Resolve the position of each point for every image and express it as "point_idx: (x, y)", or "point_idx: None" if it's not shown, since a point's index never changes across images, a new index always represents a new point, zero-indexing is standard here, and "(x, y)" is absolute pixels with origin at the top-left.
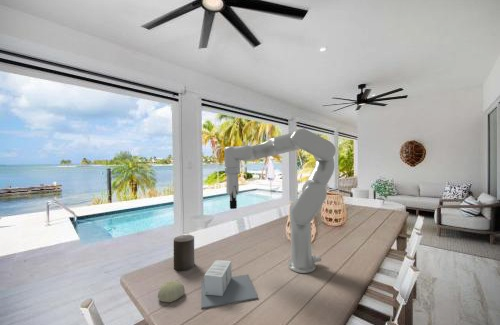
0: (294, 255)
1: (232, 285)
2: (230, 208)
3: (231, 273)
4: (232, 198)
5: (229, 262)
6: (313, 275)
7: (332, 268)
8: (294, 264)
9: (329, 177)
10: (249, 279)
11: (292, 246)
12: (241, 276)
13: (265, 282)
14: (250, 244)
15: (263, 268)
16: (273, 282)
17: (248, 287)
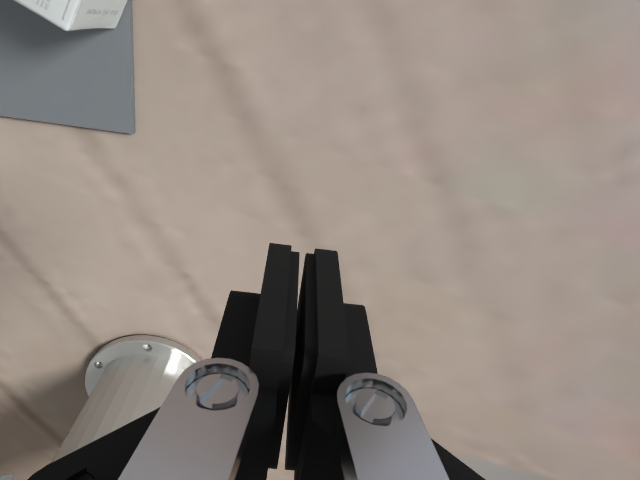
0: (105, 396)
1: None
2: (269, 245)
3: (100, 27)
4: (69, 455)
5: (45, 10)
6: (69, 383)
7: None
8: (124, 363)
9: None
10: (79, 121)
11: (102, 429)
12: (119, 90)
13: (53, 188)
14: (505, 278)
15: (187, 232)
16: (46, 221)
17: (2, 89)
